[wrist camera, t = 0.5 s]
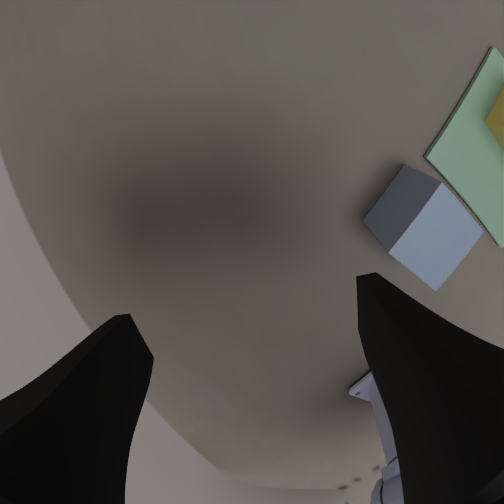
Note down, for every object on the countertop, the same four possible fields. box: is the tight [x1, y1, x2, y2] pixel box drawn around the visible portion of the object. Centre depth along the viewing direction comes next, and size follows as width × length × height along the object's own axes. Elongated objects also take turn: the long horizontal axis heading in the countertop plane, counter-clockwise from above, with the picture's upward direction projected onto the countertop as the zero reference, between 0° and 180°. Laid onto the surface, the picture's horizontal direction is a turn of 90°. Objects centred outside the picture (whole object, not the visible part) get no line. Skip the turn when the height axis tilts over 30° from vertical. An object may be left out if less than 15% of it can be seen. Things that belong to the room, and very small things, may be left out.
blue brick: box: [363, 164, 483, 291], centre depth 15 cm, size 4×4×4 cm
